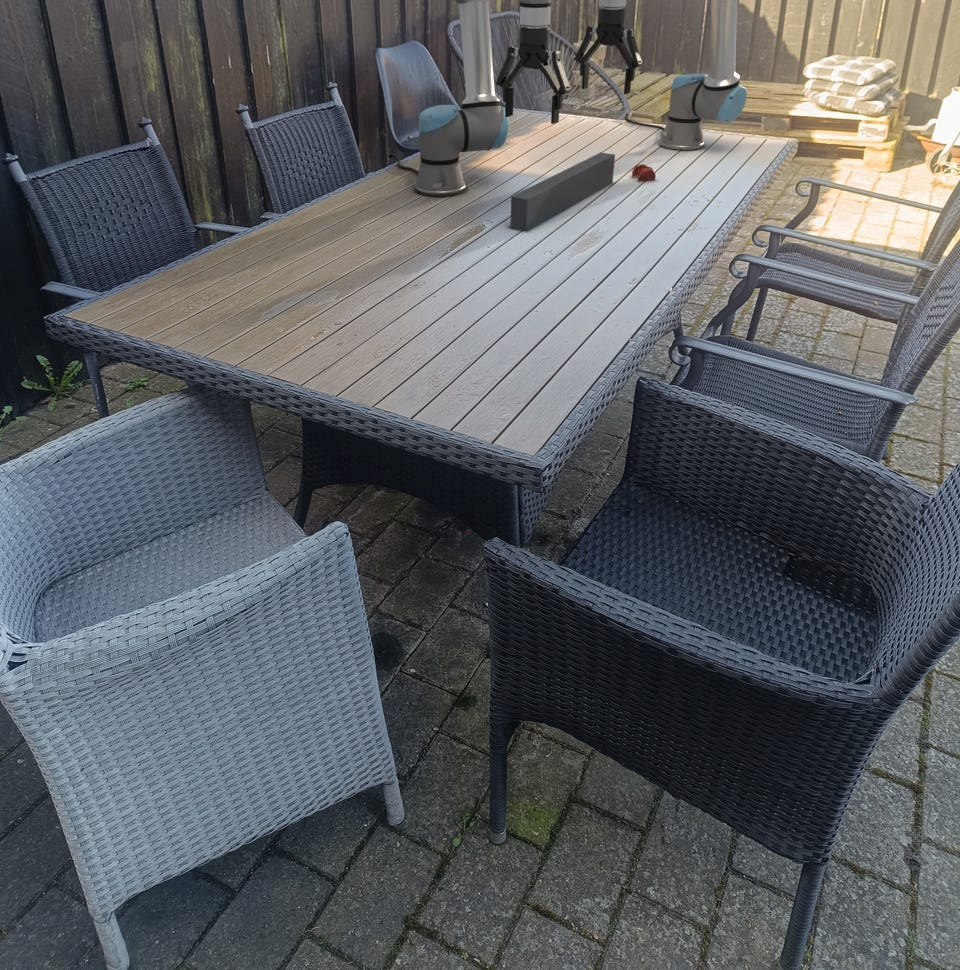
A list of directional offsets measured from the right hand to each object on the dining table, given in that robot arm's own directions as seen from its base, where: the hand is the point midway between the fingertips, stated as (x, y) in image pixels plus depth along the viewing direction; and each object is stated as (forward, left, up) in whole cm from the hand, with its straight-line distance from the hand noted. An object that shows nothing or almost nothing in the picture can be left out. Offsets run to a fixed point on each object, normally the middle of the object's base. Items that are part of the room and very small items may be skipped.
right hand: (605, 90), depth 246 cm
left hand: (+39, -18, 0) cm, 43 cm away
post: (+20, -9, -27) cm, 35 cm away
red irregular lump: (-10, +14, -27) cm, 32 cm away
